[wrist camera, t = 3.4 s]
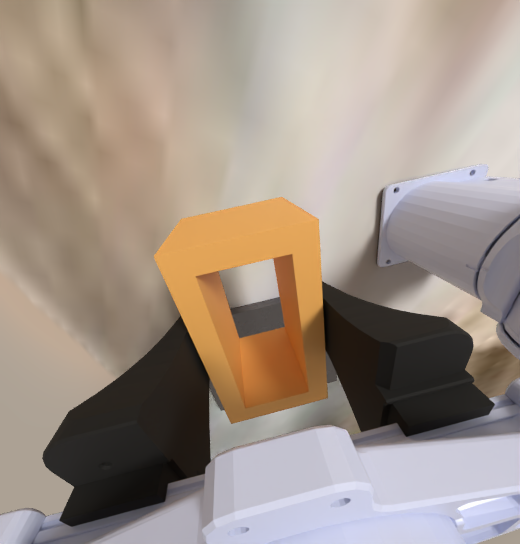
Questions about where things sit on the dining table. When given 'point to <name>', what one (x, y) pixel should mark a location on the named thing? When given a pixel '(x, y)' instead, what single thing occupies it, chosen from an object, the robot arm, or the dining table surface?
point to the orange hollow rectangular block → (217, 316)
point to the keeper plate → (263, 328)
